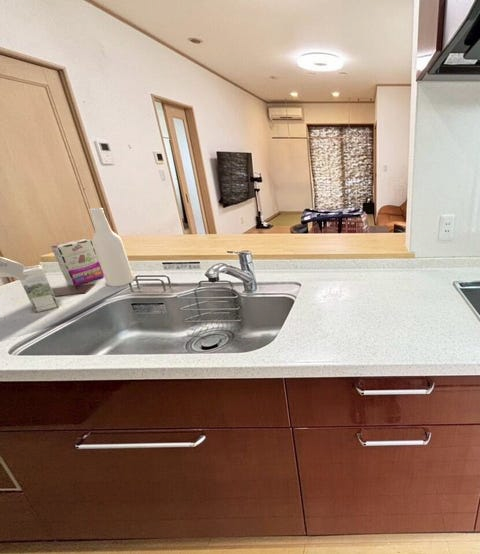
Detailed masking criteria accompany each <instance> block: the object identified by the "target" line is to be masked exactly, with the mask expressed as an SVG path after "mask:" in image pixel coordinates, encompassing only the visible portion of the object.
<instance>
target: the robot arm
mask: <svg viewBox="0 0 480 554" xmlns="http://www.w3.org/2000/svg"><path fill="white" fill-rule="evenodd" d="M25 267H26V266H25V265H24V264H22V263H21V262H18V261H14V260H12V259H8V258H5V257H3V256H0V278H13V280H17V281H20V280H25V279H26V277H27V275H25V274H23V271H24V268H25Z"/></svg>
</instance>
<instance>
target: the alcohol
mask: <svg viewBox="0 0 480 554" xmlns="http://www.w3.org/2000/svg"><path fill="white" fill-rule="evenodd" d="M88 211H89V214H90V215H91V219H92V224H93V227H94V236H93V237H92V239H91V241H92V244H93V247H94V250H95V253H96V255H97V258H98V261H99V264H100V266H101V269H102V272H103V274H104V277H103V278H104V281H105V282H106V284H107V285H108V286H109V287H123V286H126V285H128V284H132V283H133V282H134V280H135V276H134V273H133V270H132V267H131V264H130V261H129V257H128V255H127V251H126V249H125V245H124V242H123V239H122V238H121V236H120V235H119V234H118V233H115V232H114V231H113V230H112V228H111V226H110V222H109V221H108V219H107V216H106V214H105V211H104V208H103V207H93V208H92V207H91V208H89V209H88Z"/></svg>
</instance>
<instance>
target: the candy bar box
mask: <svg viewBox="0 0 480 554" xmlns="http://www.w3.org/2000/svg"><path fill="white" fill-rule="evenodd" d="M50 248H51V251H52V253H53V255H54V257H55V259H56V262H57V264H58V266H59V268H60V270H61V273H62V275H63V278H64V279H65V282H66V284H67V285H68V286H76V285H85V284H88V283H89V282H93V281H96V280H99V279H102V278H105V277H104V274H103V272H102V269H101V266H100V264H99V261H98V258H97V255H96V253H95V250H94V247H93V244H92V239H87V238H81V239H77V240H71V241H68V242H63V243H58V244H55V245H54V244H53V245H51V246H50Z"/></svg>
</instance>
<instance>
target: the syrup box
mask: <svg viewBox="0 0 480 554" xmlns="http://www.w3.org/2000/svg"><path fill="white" fill-rule="evenodd" d="M23 274H25V275H27V277H26V279H25V280H19V281H20V284H21V286H22V287H23V290H24V292H25V294H26V297H27V298H28V300H29V303H30V304H31V307H32V308H33V310H34V313H36V314H37V313H42V312H46V311H49V310H53V309H57V308H60V305H59V303H58V301H57V297H55V296H54V294H53V292H52V289H51V288H52V287H51V285H50V283H49V280H48V278H47V275H46V273H45V271H44V269H43V268H42V266H41V264H37V265H31V266H25V268H24V271H23Z"/></svg>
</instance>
